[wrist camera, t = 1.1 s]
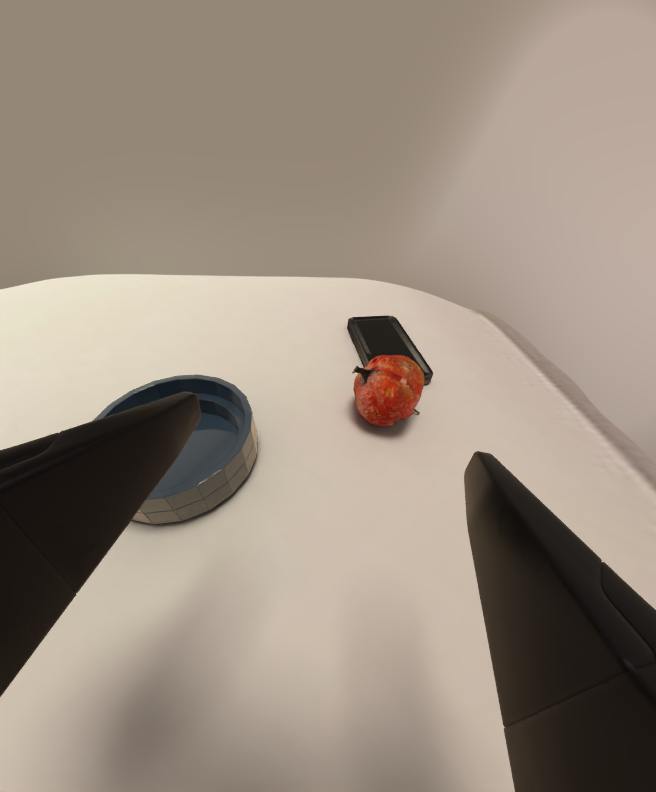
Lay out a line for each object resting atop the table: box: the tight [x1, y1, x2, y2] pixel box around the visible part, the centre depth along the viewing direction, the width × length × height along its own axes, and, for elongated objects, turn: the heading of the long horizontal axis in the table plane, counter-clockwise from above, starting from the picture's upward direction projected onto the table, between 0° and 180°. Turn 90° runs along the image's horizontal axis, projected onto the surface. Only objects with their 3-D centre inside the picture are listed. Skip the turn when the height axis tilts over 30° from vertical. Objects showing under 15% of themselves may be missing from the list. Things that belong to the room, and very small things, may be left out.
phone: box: [347, 316, 433, 385], centre depth 40 cm, size 8×1×15 cm
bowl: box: [93, 375, 257, 524], centre depth 25 cm, size 13×13×4 cm
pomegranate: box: [352, 355, 424, 426], centre depth 30 cm, size 7×7×10 cm
